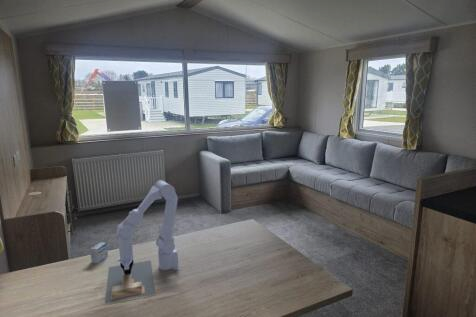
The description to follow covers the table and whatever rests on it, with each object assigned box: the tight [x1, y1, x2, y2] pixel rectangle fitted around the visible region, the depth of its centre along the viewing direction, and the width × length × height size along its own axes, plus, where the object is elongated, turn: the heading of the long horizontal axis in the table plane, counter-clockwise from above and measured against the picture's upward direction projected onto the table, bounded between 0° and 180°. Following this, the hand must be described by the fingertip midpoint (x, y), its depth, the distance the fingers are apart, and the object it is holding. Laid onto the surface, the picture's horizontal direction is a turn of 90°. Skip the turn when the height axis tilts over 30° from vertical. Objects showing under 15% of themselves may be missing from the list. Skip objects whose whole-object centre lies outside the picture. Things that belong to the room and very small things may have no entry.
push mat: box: [104, 260, 156, 306], centre depth 143 cm, size 20×29×1 cm
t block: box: [112, 274, 142, 297], centre depth 138 cm, size 12×12×2 cm
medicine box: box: [89, 241, 109, 264], centre depth 160 cm, size 8×4×9 cm, turn 168°
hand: (128, 276), depth 144 cm, fingers closed
